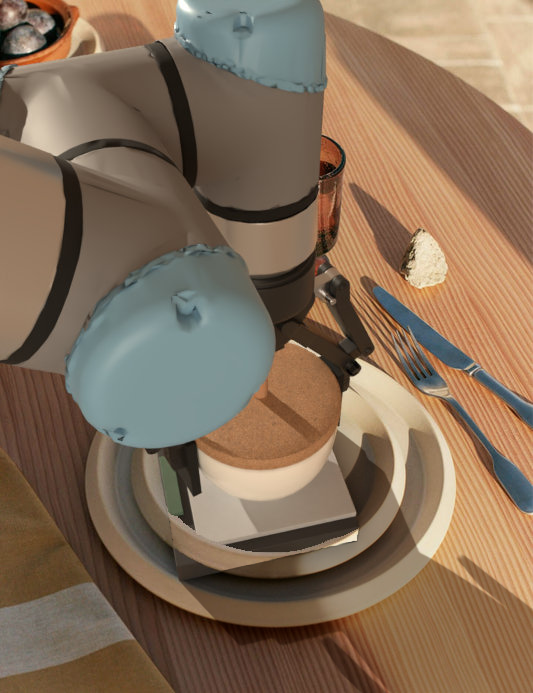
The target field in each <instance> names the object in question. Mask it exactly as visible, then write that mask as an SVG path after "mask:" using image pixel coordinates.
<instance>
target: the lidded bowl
mask: <svg viewBox="0 0 533 693" xmlns="http://www.w3.org/2000/svg"><path fill="white" fill-rule="evenodd" d="M319 357H320V356H318V355H316V353H315V352H314V353H313V352H312V351H310V350H308V349H307V348H305V347H303V346H301V345H298V344H297V343H292V342H290V341H289V342H288V343H286V344H285V348H283V349H281V350H279V351H276V352H275V354H274V359H273V364H272V367H271V369H270V372H269V374H268V377H267V378H266V380H265V382H264V384H262V385H261V386H260V389H259V391H258V392H256V393H255V394H254V395H253V396H252V398H251V400H250V402H249V404H248V405H247V406H246V407H245V408H244V409H243V410H242V411H241V412H240V413H239V414H237V415H236V416H235V417H234V418H233V419H232V420H230V421H229V422H227V423H226V424H225V425H223V426H221V427H220V428H218V429H216V430H215V431H213V432H211V433H209V434H207V435H205V436H203V437H200V438H198V439H195V440H194V441H195V443H196V449H197V457H198V465H199V469H200V471H201V472H202V473H203V475H204V476H205V477H206V478H207V479H208V480H209V481H210V482H211V483H212V484H213V485H215V486H216V487H217V488H219V489H220V490H222V491H224V492H225V493H227V494H229V495H232V496H235V497H237V498H240V499H244V500H249V501H260V502H261V501H272V500H277V499H281V498H284V497H287V496H289V495H292V494H294V493H296V492H297V491H299V490H301V489H302V488H304V487H305V486H306V485H308V484H309V483H310V482H311V481H312V480H313V479H314V478H315V477H316V476H317V475H318V474H319V472H320V471H321V469H322V468H323V466H324V465H325V463H326V461H327V459H328V457H329V455H330V452H331V450H332V449H333V447H334V444H335V440H336V436H337V430H338V427H339V426H338V423H339V418H340V419H341V416H340V414H341V415H342V407H343V405H342V404H343V396H342V395H341V390H340V386H339V383H338V381H337V379H336V377H335V375H334V374H333V372H332V370H331V369H330V368H329V367H328V366H327V365H326V364H325V362H324V361H322V360H321V359H320V358H319ZM337 426H338V427H337Z"/></svg>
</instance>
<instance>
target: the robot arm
mask: <svg viewBox="0 0 533 693" xmlns="http://www.w3.org/2000/svg"><path fill="white" fill-rule="evenodd" d="M324 12H325V11H324V7H323V5H322V2H321V1H320V0H177V2H176V6H175V16H176V19H175V21H174V23H173V33H174V34H173V35H172V36H170V37H166V38H159V39H155V40H154V41H153V42H152V43H145V44H142V45H137V46H131V47H125V48H120V49H119V48H118V49H114V50H113V49H112V50H108V51H101V52H95V53H89V54H82V55H79V56H78V55H77V56H72V57H65V58H60V59H53V60H46V61H41V62H34V63H29V64H23V65H18V64H17V63H11V64H8V65H3V67H1V68H0V364H3V365H9V366H14V367H19V368H24V369H29V370H35V371H39V372H40V371H41V372H46V373H53V374H58V375H59V374H60V375H62V376H64V382H65V389H66V391H67V394H70V395H71V396H72V400H73V401H74V402H75V403H76V404H77V405H78V407H79V410H80V412H81V414H82V415H83V417H84V419H85V420H86V421H87V423H88V424H90V425H91V426H92V427H93V428H94V429H95V430H96V431H98V432H99V433H101V434H102V435H104V436H106V437H109V438H110V439H111V440H112V441H113V442H114V443H117V444H120V445H123V446H126V447H131V448H137V449H144V451H145V452H146V453H147V454H148V455H155V454H157V452H159V451H160V450H161V448H163V451H164V457H165V458H166V460H167V462H168V463H169V465H170V466H171V468H172V469H173V470H174V471H175V472H176V471H178V472H179V474H180V476H181V478H182V479H183V481H184V482H185V484H186V486H187V487H188V489H189V491H190V492H191V494H192V496H193V497H195V496H197V495H199V494H201V493H202V490H201V482H200V473H199V465H198V457H197V449H196V443H195V441H194V440H195V439H198V438H200V437H203V436H205V435H207V434H209V433H211V432H213V431H215V430H216V429H218V428H220V427H221V426H223V425H225V424H226V423H227V422H229V421H230V420H232V419H233V418H234V417H235V416H236V415H237V414H239V413H240V412H241V411H242V410H243V409H244V408H245V407H246V406H247V405H248V404H249V402H250V400H251V398H252V396H253V395H254V394H255V393H256V392H258V391H259V389H260V386H261V385H262V384H264V382H265V380H266V378H267V377H268V374H269V372H270V369H271V367H272V364H273V359H274V354H275V352H276V351H279V350H281V349H283V348H285V344H286V343H288V342H289V343H290V341H291V340H292V341H293V342H294V343H295V342H296V344H297V345H298V344H299V346H301V347H302V348H305V349H307V348H308V349H309V350H311V351H313V352H314V353H315V354H318V355H319V356H318V357H319V358H320V359H321V360H322V361H324V362H325V364H326V365H327V366H328V367H329V368H330V369H331V370H332V372H333V374H334V375H335V377H336V379H337V381H338V383H339V386H340V390H341V395H342V397H343V395H344V393H345V392H347V391H348V389H349V387H350V384H351V383H350V382H351V378H354V377H356V376H357V375H358V374H360V372H361V371H362V366H361V364H360V363H359V362H358V361H357V359H359V357H361V356H363V357H364V358H367V357H369V356H370V355H372V354H373V353H374V351H375V349H376V346H375V344H374V343H373V340H372V339H371V337H370V334H369V333H368V331H367V330H366V327H365V325H364V324H363V321H362V320H361V318H360V317H359V315H358V312H357V311H356V309H355V307H354V305H353V304H352V302H351V283H350V281H349V280H348V279H347V278H346V276H344V275H343V274H342V273H341V272H340V271H339V270H338V269H337V268H336V267H334V265H333V264H332V263H331V262H329V261H325V262H323V263H321V264H320V265H319V266H318V268H317V271H316V264H317V261H316V260H317V250H316V245H317V242H318V239H319V238H318V237H319V235H318V234H319V233H318V232H319V203H320V202H319V201H320V199H319V198H320V186H319V184H320V183H319V182H320V171H321V170H320V168H321V153H322V137H323V136H322V135H323V119H324V118H323V117H324V104H325V103H324V102H325V90H326V89H327V87H328V83H329V82H328V80H329V78H328V75H327V33H326V23H325V22H326V19H325V13H324ZM316 298H317V299H318V300H319V301H321V302H322V304H325V305H326V307H327V309H328V310H329V312H330V314H331V315H332V318H333V319H334V321H335V322H336V324H337V325H338V327H339V329H340V330H341V332H342V335H343V336H344V337H345V338H343V340H341V341H340V342H339V341H338V340H337V339H336V338H334V337H332V336H331V335H329V333H328V334H327V333H326V332H325V331H324V330H322V329H320V327H318V326H316V325H315V324H313V323H312V322H310V321H309V320H307V319H306V318H307V316H308V314H309V312H310V311H311V310H312V308H313V307H314V304H315V302H316ZM341 415H342V413H341V414H340V418H339V423H338V426H337V428H338V427H340V425H341Z"/></svg>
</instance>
